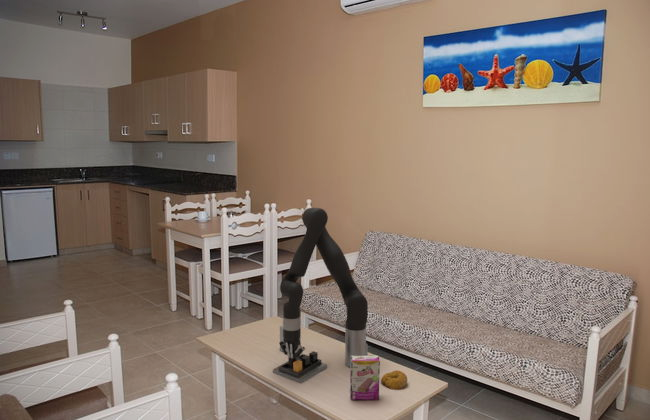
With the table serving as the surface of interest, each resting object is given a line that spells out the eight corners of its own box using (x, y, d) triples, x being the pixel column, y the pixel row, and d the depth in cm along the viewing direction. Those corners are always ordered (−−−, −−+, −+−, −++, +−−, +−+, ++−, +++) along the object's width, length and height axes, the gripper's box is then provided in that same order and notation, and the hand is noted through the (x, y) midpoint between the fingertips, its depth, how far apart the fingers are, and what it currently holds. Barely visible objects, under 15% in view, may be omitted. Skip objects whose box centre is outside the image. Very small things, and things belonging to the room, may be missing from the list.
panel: (272, 372, 215) (272, 358, 214) (299, 358, 229) (299, 344, 228) (301, 383, 205) (301, 367, 204) (327, 367, 219) (327, 353, 218)
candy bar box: (350, 401, 191) (351, 360, 189) (349, 394, 196) (349, 355, 194) (379, 400, 191) (380, 360, 189) (377, 393, 196) (378, 354, 194)
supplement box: (291, 354, 233) (290, 328, 231) (279, 350, 237) (279, 325, 236) (301, 349, 239) (301, 324, 237) (289, 345, 243) (289, 320, 242)
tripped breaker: (293, 373, 210) (293, 362, 209) (297, 370, 212) (297, 359, 212) (297, 375, 209) (297, 363, 208) (302, 372, 211) (302, 361, 210)
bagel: (385, 376, 211) (385, 365, 211) (410, 381, 206) (410, 371, 206) (377, 386, 202) (377, 375, 202) (403, 392, 198) (403, 381, 197)
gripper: (309, 327, 209) (309, 366, 211) (285, 320, 217) (286, 358, 219) (297, 333, 203) (298, 372, 205) (274, 325, 211) (274, 364, 213)
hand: (292, 365), depth 212 cm, fingers closed
